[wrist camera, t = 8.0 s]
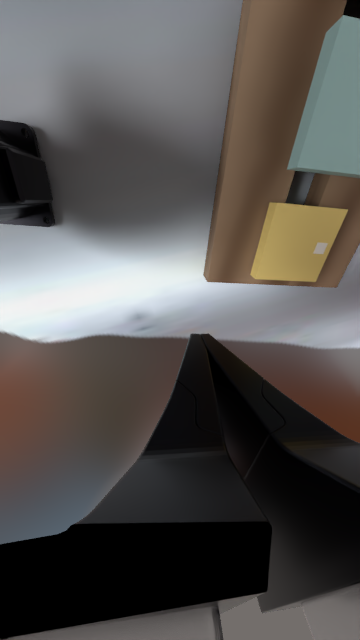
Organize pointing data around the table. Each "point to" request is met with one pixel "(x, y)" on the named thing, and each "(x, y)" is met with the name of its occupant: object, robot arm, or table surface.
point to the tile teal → (332, 107)
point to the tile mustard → (295, 241)
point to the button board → (273, 140)
